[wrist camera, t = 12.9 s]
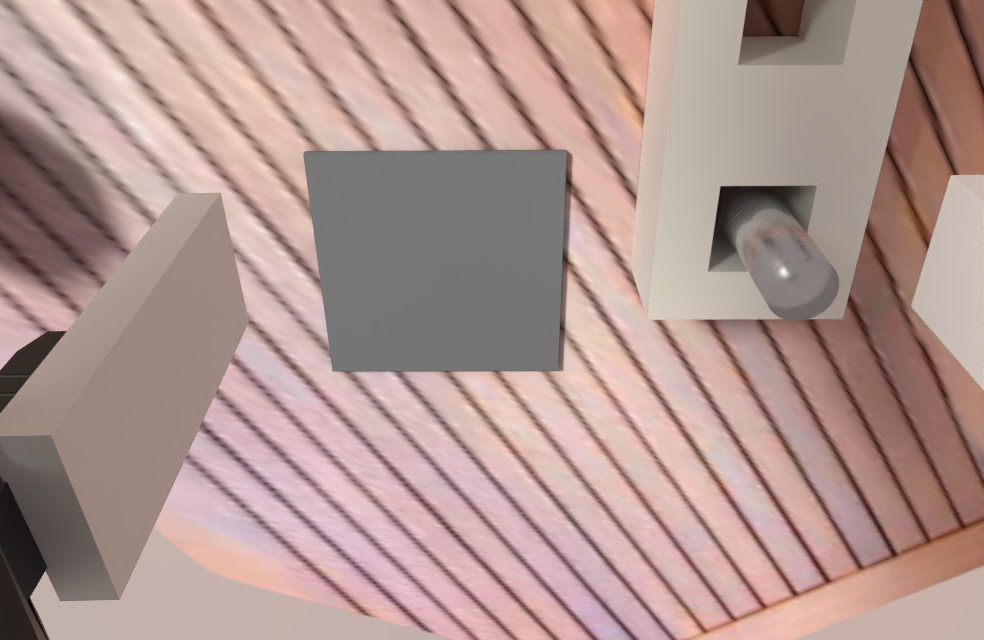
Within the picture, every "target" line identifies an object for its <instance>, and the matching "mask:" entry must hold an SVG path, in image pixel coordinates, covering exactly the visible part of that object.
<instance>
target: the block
mask: <svg viewBox="0 0 984 640" xmlns="http://www.w3.org/2000/svg"><path fill="white" fill-rule="evenodd" d="M922 3H923V0H804V6H803V11H802V17H801V23H800V28H799V34H798V36H752V37H742V34H743V27H744V21H745V14H746V7H747V0H655V2H654V13H653V25H652V36H651V47H650V58H649V69H648V80H647V92H646V103H645V114H644V125H643V136H642V147H641V159H640V170H639V181H638V192H637V203H636V214H635V226H634V237H633V248H632V259H631V269H632V272H633V275H634V279H635V282H636V285H637V288H638V291H639V295H640V298H641V301H642V304H643V308H644V311H645V314H646V317H647V320H709V319H782V318H780V317H778V316H776V315H775V314H774V313H773V312H772V311H771V310H770V308H769V307H768V305H767V303H766V302H765V300H764V298H763V296H762V295H761V293H760V291H759V290H758V288H757V286H756V284H755V283H754V281H753V279H752V278H751V276H750V274H749V272H748V271H747V269H746V267H745V266H744V264H743V262H742V260H741V259H740V257H739V255H738V254H737V252H736V250H735V248H734V247H733V245H732V243H731V242H730V240H729V238H728V236H727V235H726V233H725V231H724V230H723V228H722V226H721V224H720V223H719V222H715V220H716V213H717V206H718V199H719V192H720V186H771V189H772V190H773V192H774V193H775V194H776V195H777V197H778V198H779V199H780V200H781V202H782V203H783V204H784V206H785V207H786V208H787V209H788V211H789V212H790V213H791V214H792V216H793V217H794V218H795V219H796V221H797V222H798V223H799V224H800V226H801V227H802V228H803V230H804V231H805V232H806V233H807V235H808V236H809V237H810V238H811V240H812V241H813V242H814V243H815V245H816V246H817V247H818V248H819V250H820V251H821V252H822V254H823V255H824V256H825V257H826V259H827V260H828V261H829V262H830V264H831V265H832V266H833V267H834V269H835V270H836V272H837V274H838V277H839V291H838V294H837V296H836V298H835V300H834V301H833V303H832V304H831V305H830V306H829V307H828V308H827V309H826V310H825V311H824V312H822V313H821V314H819V315H817V316H815V317H813V318H810V319H843V317H844V313H845V309H846V305H847V301H848V297H849V293H850V289H851V285H852V281H853V277H854V273H855V269H856V265H857V261H858V257H859V253H860V249H861V245H862V241H863V237H864V233H865V229H866V225H867V221H868V217H869V213H870V209H871V206H872V202H873V198H874V194H875V190H876V186H877V182H878V178H879V174H880V170H881V166H882V162H883V158H884V154H885V150H886V146H887V142H888V138H889V134H890V130H891V126H892V122H893V118H894V114H895V110H896V106H897V102H898V98H899V94H900V90H901V86H902V82H903V78H904V74H905V70H906V67H907V63H908V59H909V55H910V51H911V47H912V43H913V39H914V35H915V31H916V27H917V23H918V19H919V15H920V11H921V7H922Z"/></svg>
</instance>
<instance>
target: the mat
mask: <svg viewBox="0 0 984 640" xmlns="http://www.w3.org/2000/svg"><path fill="white" fill-rule="evenodd" d="M303 155H304V162H305V170H306V177H307V185H308V192H309V199H310V207H311V214H312V222H313V229H314V236H315V244H316V251H317V259H318V266H319V273H320V281H321V288H322V296H323V303H324V310H325V318H326V325H327V332H328V340H329V347H330V355H331V362H332V369H333V371H558V359H559V334H560V309H561V284H562V259H563V235H564V210H565V185H566V160H567V151H566V150H467V151H305V152H304V154H303Z"/></svg>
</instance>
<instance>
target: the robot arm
mask: <svg viewBox="0 0 984 640" xmlns="http://www.w3.org/2000/svg"><path fill="white" fill-rule="evenodd" d="M911 307H912V308H913V309H914V311H915V312H916V313H917V314H918V315H919V316H920V318H921V319H922V320H923V321H924V322H925V323H926V324H927V326H928V327H929V328H930V329H931V330H932V331H933V333H934V334H935V335H936V336H937V337H938V338H939V339H940V341H941V342H942V343H943V344H944V345H945V346H946V348H947V349H948V350H949V351H950V352H951V353H952V354H953V356H954V357H955V358H956V359H957V360H958V361H959V363H960V364H961V365H962V366H963V367H964V368H965V369H966V371H967V372H968V373H969V374H970V375H971V376H972V378H973V379H974V380H975V381H976V382H977V383H978V384H979V386H980V387H981V388H982V389H983V390H984V175H951V176H950V180H949V183H948V186H947V190H946V193H945V196H944V199H943V203H942V206H941V209H940V213H939V216H938V219H937V222H936V226H935V229H934V232H933V236H932V239H931V242H930V245H929V249H928V252H927V255H926V259H925V262H924V265H923V268H922V272H921V275H920V278H919V282H918V285H917V288H916V291H915V295H914V298H913V301H912V305H911ZM248 323H249V320H248V316H247V311H246V307H245V302H244V298H243V293H242V288H241V284H240V279H239V275H238V270H237V266H236V261H235V257H234V252H233V248H232V243H231V239H230V234H229V230H228V225H227V221H226V216H225V211H224V207H223V202H222V198H221V193H192V194H177V196H176V197H175V198H174V199H173V201H172V202H171V203H170V204H169V206H168V207H167V208H166V209H165V211H164V212H163V213H162V214H161V215H160V217H159V218H158V219H157V220H156V222H155V223H154V224H153V225H152V227H151V228H150V229H149V230H148V232H147V233H146V234H145V235H144V236H143V238H142V239H141V240H140V241H139V243H138V244H137V245H136V246H135V248H134V249H133V250H132V251H131V253H130V254H129V255H128V256H127V258H126V259H125V260H124V261H123V262H122V264H121V265H120V266H119V267H118V269H117V270H116V271H115V272H114V274H113V275H112V276H111V277H110V279H109V280H108V281H107V282H106V283H105V285H104V286H103V287H102V288H101V290H100V291H99V292H98V293H97V295H96V296H95V297H94V298H93V300H92V301H91V302H90V303H89V305H88V306H87V307H86V308H85V309H84V311H83V312H82V313H81V314H80V316H79V317H78V318H77V319H76V321H75V322H74V323H73V324H72V326H71V327H70V328H69V329H68V330H67V331H52V332H46V333H45V334H43V335H42V336H40V337H38V338H37V339H35V340H34V341H32V342H31V343H29V344H28V345H26V346H25V347H23V348H21V349H20V350H18V351H17V352H16V353H15V354H14V355H13V356H12V358H11V359H10V360H9V361H8V362H7V363H6V364H5V366H4V367H3V368H2V369H1V370H0V640H50V639H49V637H48V635H47V633H46V630H45V628H44V626H43V624H42V622H41V619H40V617H39V615H38V613H37V611H36V609H35V607H34V605H33V603H32V601H31V599H30V596H31V594H32V592H33V591H34V589H35V588H36V586H37V584H38V582H39V581H40V579H41V577H42V576H43V574H44V572H45V570H46V572H47V575H48V576H49V579H50V581H51V583H52V585H53V587H54V589H55V591H56V593H57V595H58V597H59V599H60V601H84V600H119V599H120V598H121V596H122V594H123V591H124V589H125V587H126V585H127V582H128V581H129V578H130V576H131V574H132V572H133V570H134V568H135V566H136V563H137V561H138V559H139V557H140V555H141V553H142V551H143V548H144V546H145V544H146V542H147V540H148V538H149V535H150V533H151V531H152V529H153V527H154V525H155V523H156V520H157V518H158V516H159V514H160V512H161V510H162V507H163V505H164V503H165V501H166V499H167V497H168V495H169V492H170V490H171V488H172V486H173V484H174V482H175V480H176V477H177V475H178V473H179V471H180V469H181V467H182V464H183V462H184V460H185V458H186V456H187V454H188V452H189V449H190V447H191V445H192V443H193V441H194V439H195V437H196V434H197V432H198V430H199V428H200V426H201V424H202V421H203V419H204V417H205V415H206V413H207V411H208V409H209V406H210V404H211V402H212V400H213V398H214V396H215V393H216V391H217V389H218V387H219V385H220V383H221V381H222V378H223V376H224V374H225V372H226V370H227V368H228V366H229V363H230V361H231V359H232V357H233V355H234V353H235V350H236V348H237V346H238V344H239V342H240V340H241V338H242V335H243V333H244V331H245V329H246V327H247V325H248Z"/></svg>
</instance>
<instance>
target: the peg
mask: <svg viewBox="0 0 984 640" xmlns="http://www.w3.org/2000/svg"><path fill="white" fill-rule="evenodd" d="M716 218H717V219H718V221H719V223H720V224H721V226H722V228H723V230H724V231H725V233H726V235H727V236H728V238H729V240H730V242H731V243H732V245H733V247H734V248H735V250H736V252H737V254H738V255H739V257H740V259H741V260H742V262H743V264H744V266H745V267H746V269H747V271H748V272H749V274H750V276H751V278H752V279H753V281H754V283H755V284H756V286H757V288H758V290H759V291H760V293H761V295H762V296H763V298H764V300H765V302H766V303H767V305H768V307H769V308H770V310H771V311H772V312H773V313H774V314H775V315H776V316H778V317H780V318H782V319H785V320H789V321H802V320H807V319H810V318H813V317H815V316H817V315H819V314H821V313H822V312H824V311H825V310H826V309H827V308H828V307H829V306H830V305H831V304H832V303H833V301H834V300H835V298H836V296H837V294H838V291H839V277H838V274H837V272H836V270H835V269H834V267H833V266H832V265H831V264H830V262H829V261H828V260H827V259H826V257H825V256H824V255H823V254H822V252H821V251H820V250H819V248H818V247H817V246H816V245H815V243H814V242H813V241H812V240H811V238H810V237H809V236H808V235H807V233H806V232H805V231H804V230H803V228H802V227H801V226H800V224H799V223H798V222H797V221H796V219H795V218H794V217H793V216H792V214H791V213H790V212H789V211H788V209H787V208H786V207H785V206H784V204H783V203H782V202H781V200H780V199H779V198H778V197H777V195H776V194H775V193H774V192H773V190H772V189H771V188H770V187H769V186H720V192H719V199H718V206H717V213H716Z"/></svg>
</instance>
